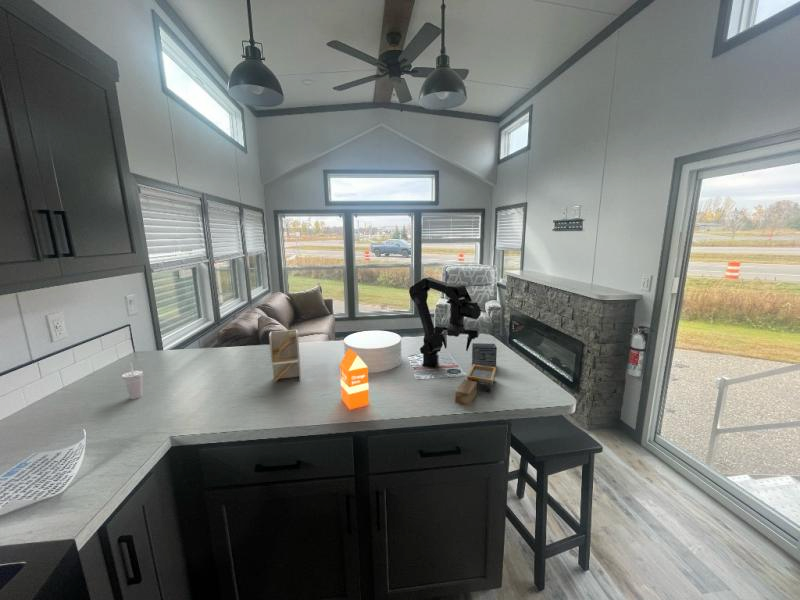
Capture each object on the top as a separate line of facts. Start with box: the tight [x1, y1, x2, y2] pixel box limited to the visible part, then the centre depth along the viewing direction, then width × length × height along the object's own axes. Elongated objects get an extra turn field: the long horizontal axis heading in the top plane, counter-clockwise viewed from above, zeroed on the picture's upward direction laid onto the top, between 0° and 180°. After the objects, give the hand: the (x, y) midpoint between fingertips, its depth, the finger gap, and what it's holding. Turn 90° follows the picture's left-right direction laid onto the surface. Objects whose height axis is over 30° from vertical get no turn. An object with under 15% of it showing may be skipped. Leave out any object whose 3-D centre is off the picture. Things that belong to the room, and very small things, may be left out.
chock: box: [454, 378, 478, 407], centre depth 124 cm, size 5×11×5 cm, turn 152°
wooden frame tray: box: [466, 364, 497, 393], centre depth 135 cm, size 10×14×6 cm
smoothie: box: [121, 362, 144, 400], centre depth 127 cm, size 6×6×14 cm
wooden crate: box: [268, 324, 302, 383], centre depth 138 cm, size 8×12×26 cm
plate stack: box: [343, 330, 402, 373], centre depth 161 cm, size 28×28×12 cm
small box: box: [471, 342, 498, 368], centre depth 153 cm, size 11×6×10 cm, turn 84°
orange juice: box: [339, 348, 370, 410], centre depth 121 cm, size 8×9×20 cm
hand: (456, 349), depth 142 cm, fingers open, 9 cm apart
